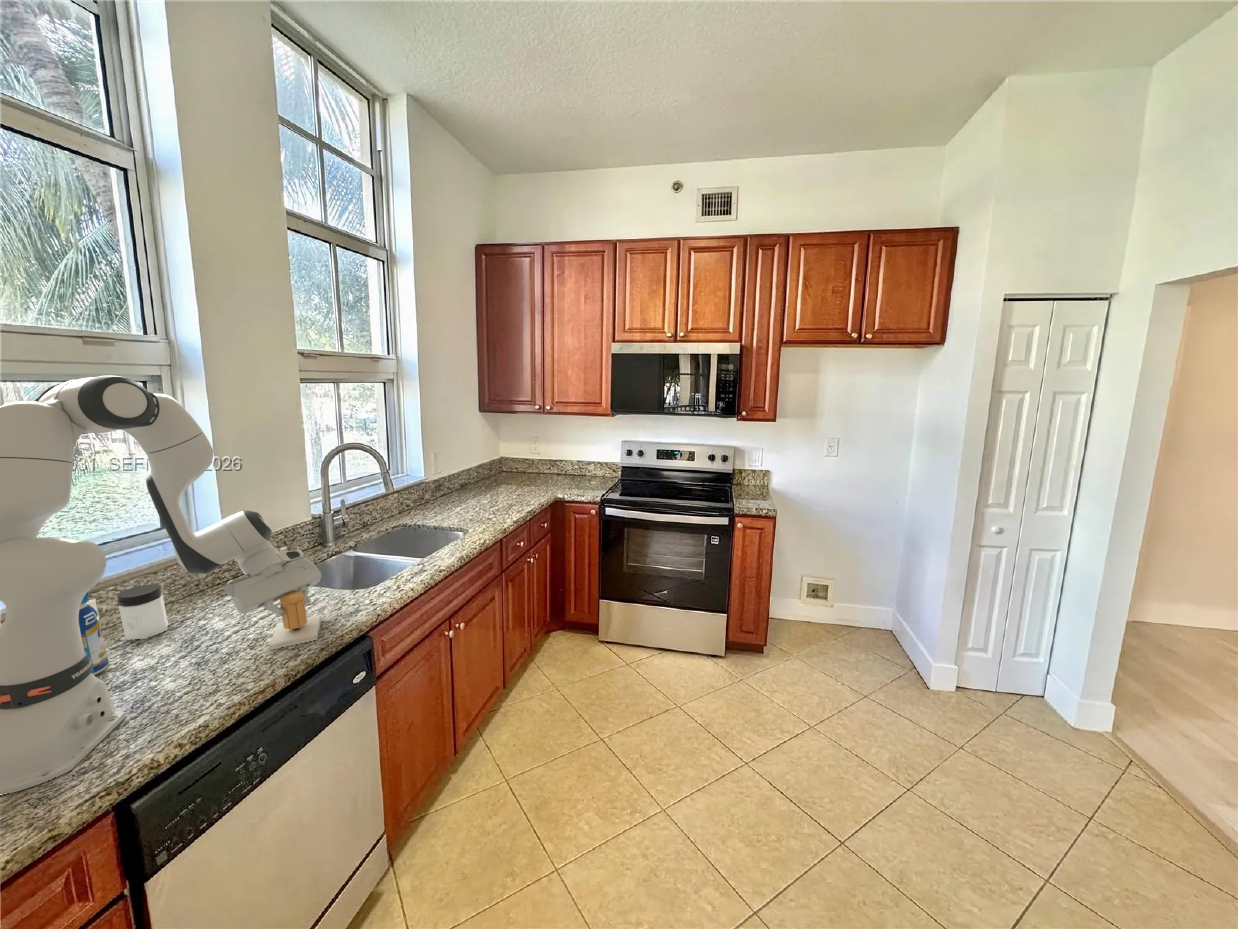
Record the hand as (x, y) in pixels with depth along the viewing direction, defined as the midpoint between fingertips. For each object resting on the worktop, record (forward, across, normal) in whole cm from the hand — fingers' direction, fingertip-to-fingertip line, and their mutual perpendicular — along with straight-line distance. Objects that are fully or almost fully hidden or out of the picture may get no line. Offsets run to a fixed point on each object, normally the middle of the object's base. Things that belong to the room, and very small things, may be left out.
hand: (295, 609), depth 127 cm
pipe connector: (-24, +23, +34) cm, 48 cm away
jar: (-22, -15, +33) cm, 42 cm away
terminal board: (+5, 0, +6) cm, 7 cm away
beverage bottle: (-16, -30, +26) cm, 43 cm away
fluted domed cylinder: (+3, 0, +4) cm, 4 cm away
